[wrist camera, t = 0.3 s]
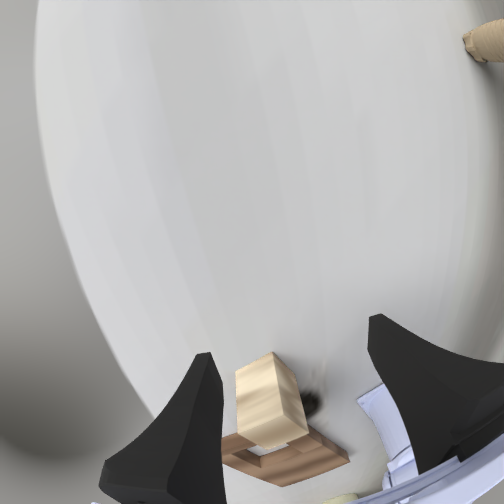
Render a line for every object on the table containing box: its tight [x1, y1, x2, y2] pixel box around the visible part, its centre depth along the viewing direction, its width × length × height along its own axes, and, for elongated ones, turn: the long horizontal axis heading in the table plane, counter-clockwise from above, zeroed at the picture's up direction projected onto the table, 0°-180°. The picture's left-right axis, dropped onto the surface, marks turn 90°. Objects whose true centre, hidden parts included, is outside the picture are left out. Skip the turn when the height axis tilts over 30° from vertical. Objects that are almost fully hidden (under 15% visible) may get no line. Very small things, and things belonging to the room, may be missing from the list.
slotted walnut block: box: [221, 424, 350, 487], centre depth 31 cm, size 18×12×2 cm, turn 35°
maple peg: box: [235, 352, 309, 450], centre depth 22 cm, size 4×4×7 cm
